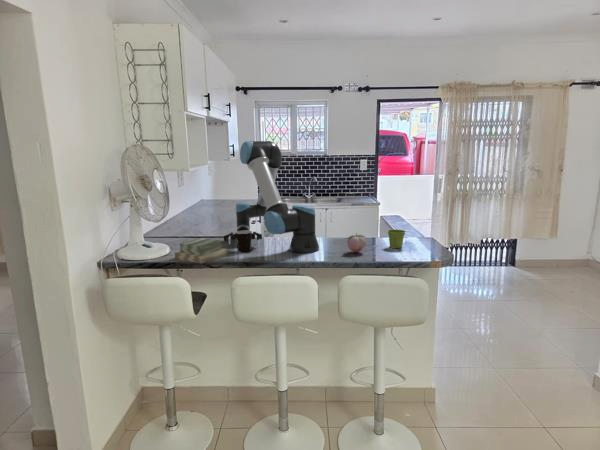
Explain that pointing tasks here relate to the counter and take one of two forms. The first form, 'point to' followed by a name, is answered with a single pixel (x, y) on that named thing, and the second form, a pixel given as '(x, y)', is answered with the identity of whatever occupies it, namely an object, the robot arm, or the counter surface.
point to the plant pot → (396, 238)
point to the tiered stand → (200, 250)
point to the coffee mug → (243, 240)
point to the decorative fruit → (356, 243)
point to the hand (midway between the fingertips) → (242, 240)
